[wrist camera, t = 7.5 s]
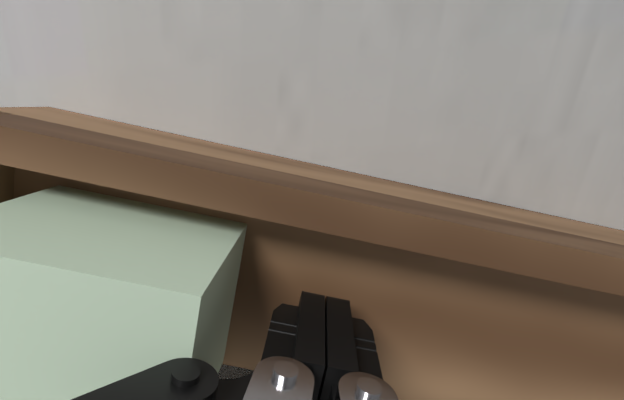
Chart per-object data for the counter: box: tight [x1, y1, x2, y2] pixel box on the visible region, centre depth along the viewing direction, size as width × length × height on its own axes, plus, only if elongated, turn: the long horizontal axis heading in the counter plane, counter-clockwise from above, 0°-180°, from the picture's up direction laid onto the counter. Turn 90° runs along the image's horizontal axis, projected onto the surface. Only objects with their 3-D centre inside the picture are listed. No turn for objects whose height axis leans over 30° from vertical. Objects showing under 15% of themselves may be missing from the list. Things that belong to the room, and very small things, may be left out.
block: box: [0, 185, 247, 400], centre depth 11 cm, size 5×6×5 cm
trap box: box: [0, 107, 624, 400], centre depth 14 cm, size 13×29×6 cm, turn 78°
